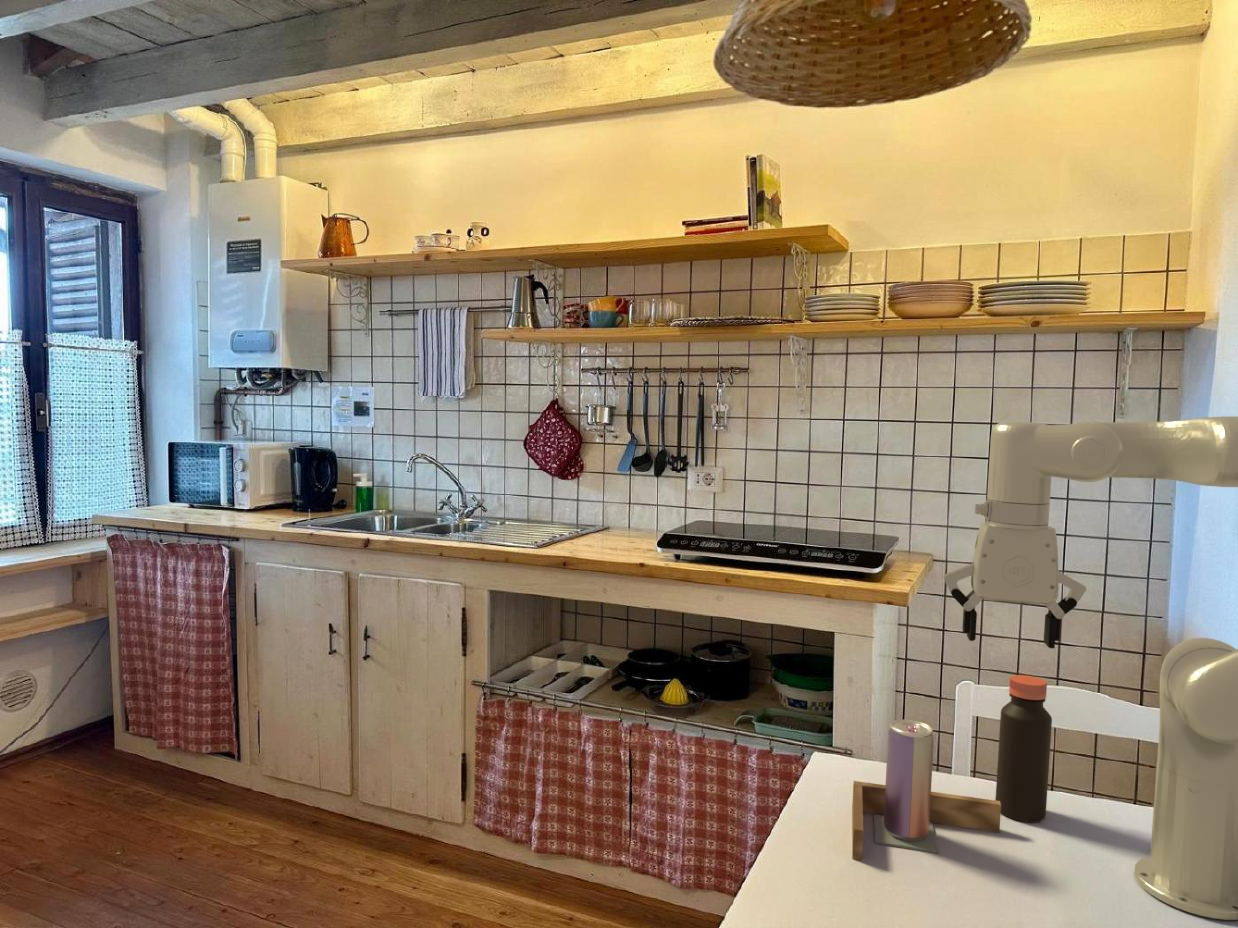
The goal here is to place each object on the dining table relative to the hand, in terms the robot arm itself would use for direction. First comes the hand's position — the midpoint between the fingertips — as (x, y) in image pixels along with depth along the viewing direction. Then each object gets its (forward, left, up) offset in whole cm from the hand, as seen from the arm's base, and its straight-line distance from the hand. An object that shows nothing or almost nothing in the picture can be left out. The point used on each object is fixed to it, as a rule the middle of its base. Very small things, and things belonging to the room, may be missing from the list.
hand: (1009, 641), depth 113 cm
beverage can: (+12, 0, -28) cm, 31 cm away
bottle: (-5, -12, -28) cm, 31 cm away
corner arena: (+9, +2, -28) cm, 30 cm away
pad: (+12, 0, -28) cm, 31 cm away
